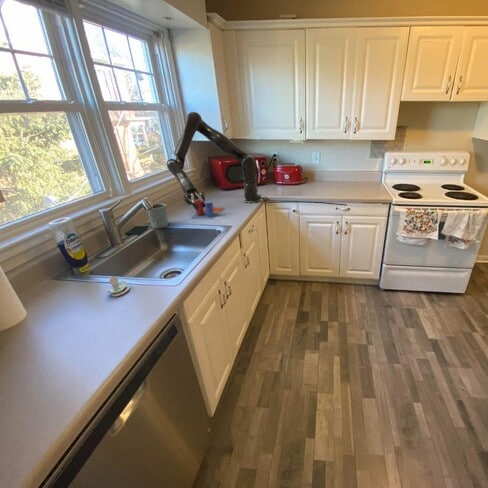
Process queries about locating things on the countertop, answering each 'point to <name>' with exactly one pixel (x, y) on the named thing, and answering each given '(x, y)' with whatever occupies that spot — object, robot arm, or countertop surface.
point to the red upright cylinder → (199, 208)
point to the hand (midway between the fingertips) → (200, 207)
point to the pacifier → (117, 287)
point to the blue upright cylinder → (209, 209)
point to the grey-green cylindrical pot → (158, 216)
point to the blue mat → (204, 216)
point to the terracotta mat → (215, 209)
